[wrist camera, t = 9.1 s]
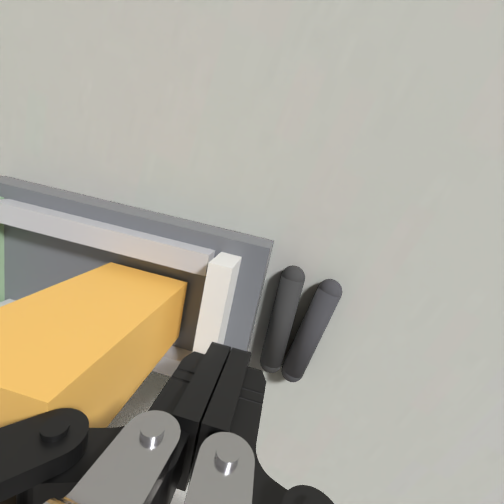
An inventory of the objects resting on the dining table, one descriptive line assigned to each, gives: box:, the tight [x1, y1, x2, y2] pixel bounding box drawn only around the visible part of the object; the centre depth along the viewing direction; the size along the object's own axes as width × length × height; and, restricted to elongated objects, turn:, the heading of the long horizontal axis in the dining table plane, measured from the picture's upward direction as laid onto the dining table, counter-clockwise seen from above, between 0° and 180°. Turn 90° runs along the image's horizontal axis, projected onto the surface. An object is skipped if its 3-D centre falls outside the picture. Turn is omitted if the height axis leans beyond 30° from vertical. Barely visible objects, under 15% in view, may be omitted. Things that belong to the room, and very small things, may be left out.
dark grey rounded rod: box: [282, 279, 342, 382], centre depth 15 cm, size 6×1×1 cm, turn 159°
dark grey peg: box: [260, 266, 305, 373], centre depth 15 cm, size 6×1×1 cm, turn 167°
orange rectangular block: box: [0, 262, 188, 428], centre depth 11 cm, size 4×3×8 cm
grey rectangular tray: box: [0, 176, 274, 377], centre depth 15 cm, size 16×8×4 cm, turn 77°
